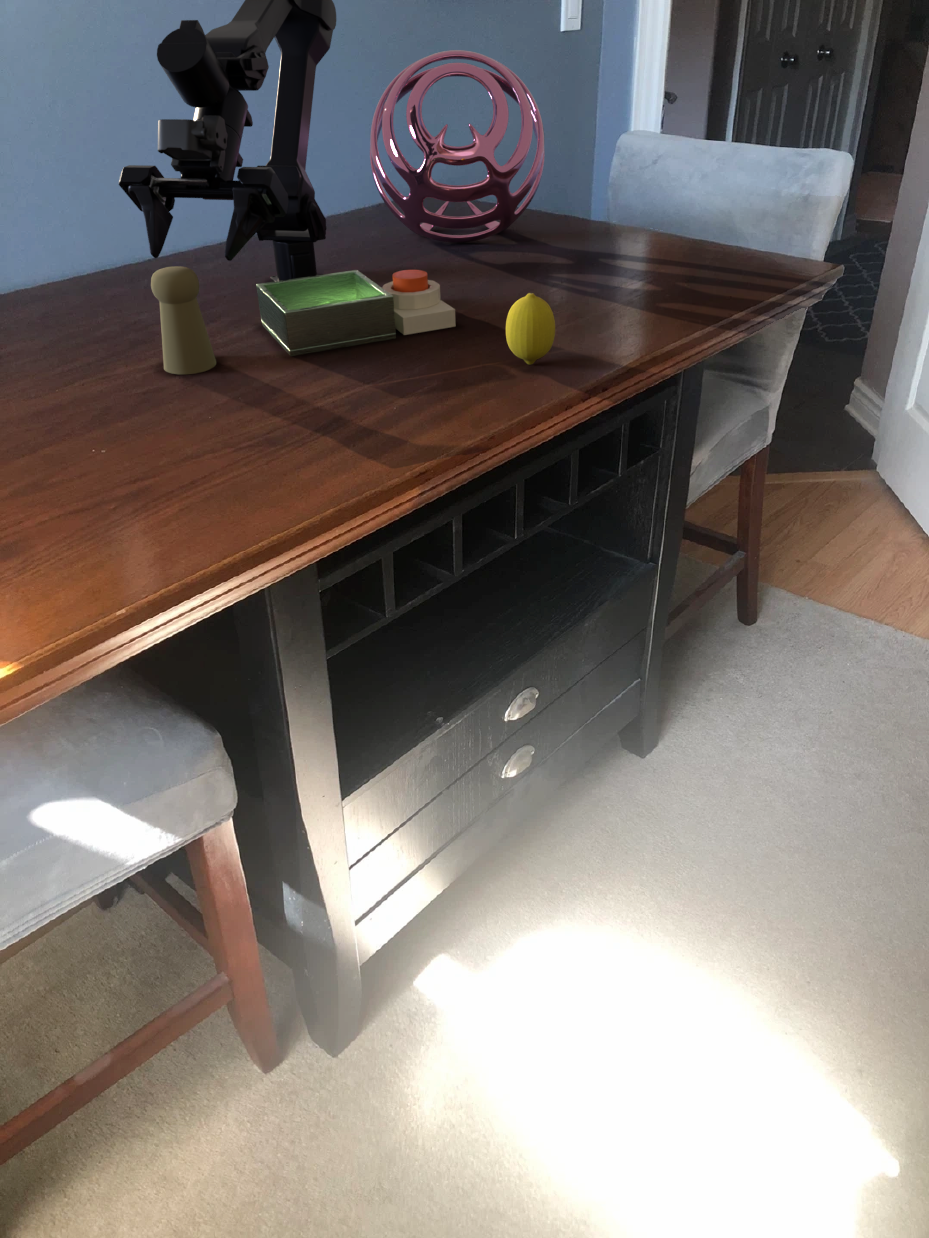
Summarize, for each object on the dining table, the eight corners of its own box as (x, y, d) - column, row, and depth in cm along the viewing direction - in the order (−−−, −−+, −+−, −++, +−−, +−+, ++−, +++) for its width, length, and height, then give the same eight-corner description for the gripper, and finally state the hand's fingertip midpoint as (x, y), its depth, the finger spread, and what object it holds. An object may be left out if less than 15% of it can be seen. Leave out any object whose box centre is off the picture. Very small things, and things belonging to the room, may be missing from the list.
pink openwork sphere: (399, 88, 171) (388, -11, 144) (555, 130, 171) (574, 39, 144) (358, 245, 171) (340, 175, 144) (514, 287, 171) (526, 225, 144)
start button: (388, 288, 127) (387, 272, 126) (420, 283, 128) (419, 268, 127) (401, 296, 123) (400, 281, 122) (433, 291, 125) (432, 276, 124)
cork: (168, 358, 118) (149, 262, 111) (219, 355, 118) (203, 260, 112) (159, 375, 113) (139, 277, 106) (213, 373, 113) (196, 274, 107)
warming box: (261, 325, 127) (255, 284, 124) (360, 309, 131) (356, 269, 129) (290, 356, 117) (284, 312, 114) (396, 338, 121) (393, 296, 118)
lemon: (521, 376, 109) (521, 303, 105) (497, 361, 114) (496, 291, 109) (563, 367, 112) (565, 295, 107) (538, 353, 116) (539, 283, 111)
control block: (370, 310, 131) (367, 279, 129) (421, 302, 134) (419, 271, 131) (402, 335, 122) (400, 303, 120) (456, 326, 125) (455, 294, 122)
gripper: (107, 86, 110) (78, 213, 107) (264, 86, 106) (237, 217, 103) (156, 152, 120) (130, 269, 118) (300, 154, 116) (276, 275, 114)
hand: (190, 257), depth 113 cm, fingers open, 9 cm apart
